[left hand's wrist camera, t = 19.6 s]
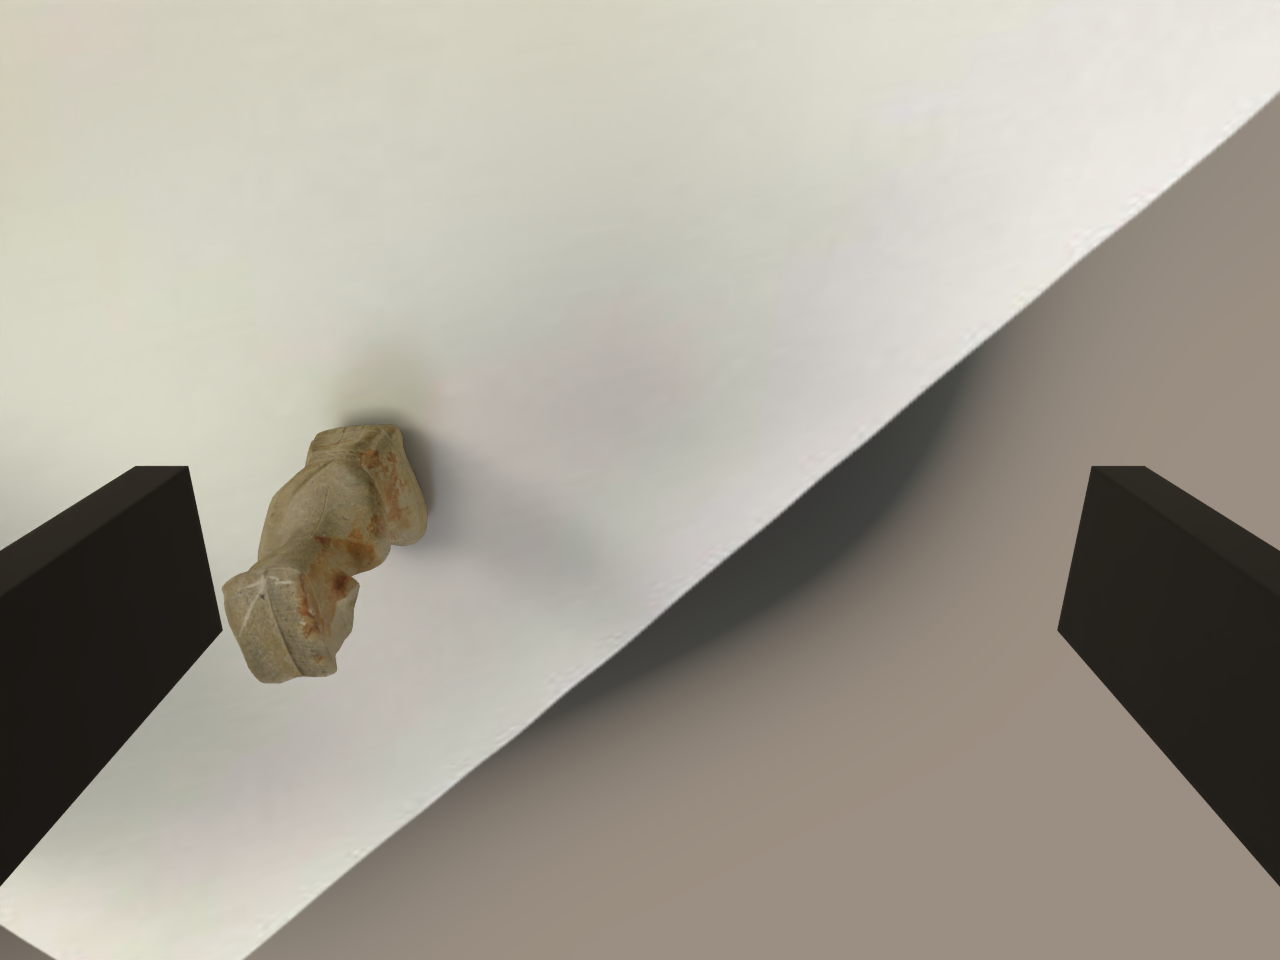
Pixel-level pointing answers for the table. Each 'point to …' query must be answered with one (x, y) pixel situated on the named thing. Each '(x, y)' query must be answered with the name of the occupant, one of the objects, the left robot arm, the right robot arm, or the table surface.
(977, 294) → the table surface
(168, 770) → the table surface
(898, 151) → the table surface
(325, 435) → the sculpture
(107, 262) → the table surface
